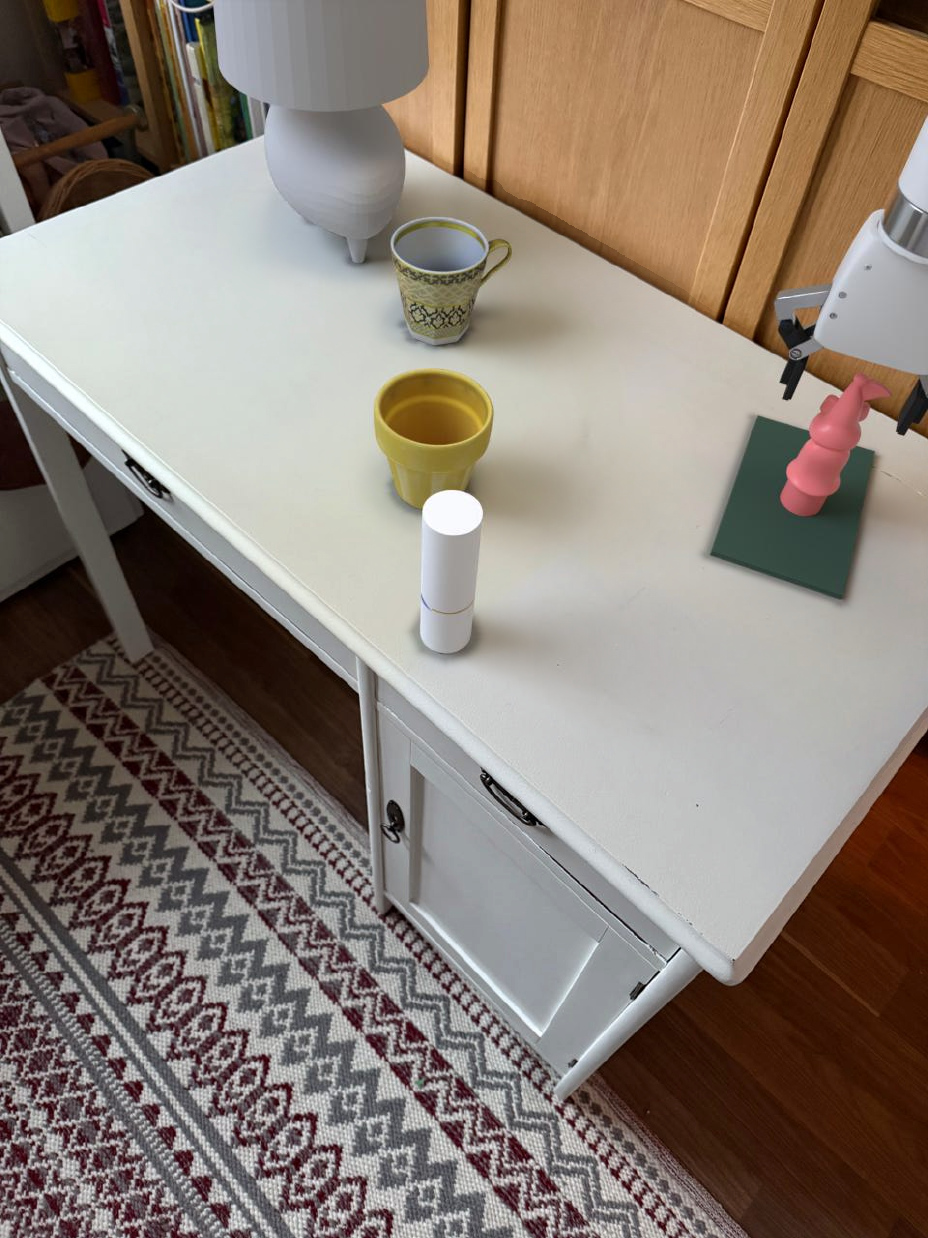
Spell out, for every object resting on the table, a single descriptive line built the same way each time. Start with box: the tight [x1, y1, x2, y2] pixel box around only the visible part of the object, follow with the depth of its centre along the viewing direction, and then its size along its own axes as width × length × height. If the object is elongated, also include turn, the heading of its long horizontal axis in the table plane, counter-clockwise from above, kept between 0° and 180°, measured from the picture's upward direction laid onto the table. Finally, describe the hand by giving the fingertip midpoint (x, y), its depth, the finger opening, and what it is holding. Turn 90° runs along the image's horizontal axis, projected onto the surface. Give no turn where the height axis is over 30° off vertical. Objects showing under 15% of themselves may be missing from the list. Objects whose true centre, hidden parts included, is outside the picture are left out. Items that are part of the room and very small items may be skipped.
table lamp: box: [212, 0, 430, 264], centre depth 93 cm, size 23×22×40 cm
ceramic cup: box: [390, 216, 513, 347], centre depth 96 cm, size 13×10×10 cm
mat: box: [709, 415, 876, 600], centre depth 87 cm, size 12×20×1 cm, turn 157°
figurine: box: [780, 372, 893, 516], centre depth 80 cm, size 5×5×15 cm
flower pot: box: [373, 367, 495, 510], centre depth 82 cm, size 10×10×10 cm
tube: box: [419, 490, 484, 654], centre depth 70 cm, size 4×4×15 cm
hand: (844, 407), depth 77 cm, fingers open, 9 cm apart
